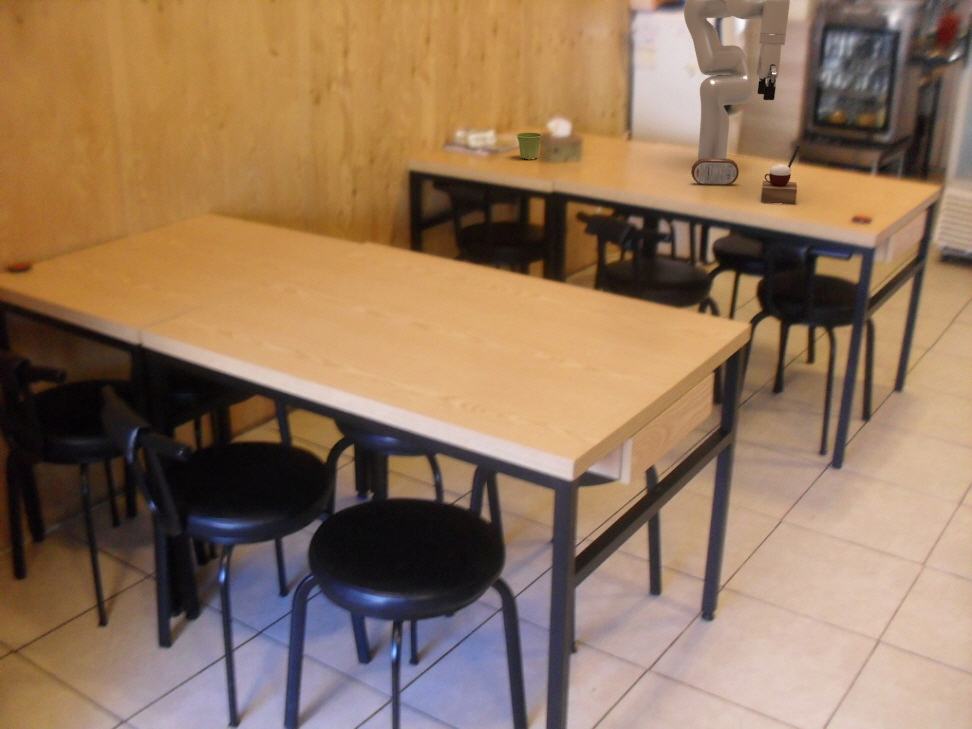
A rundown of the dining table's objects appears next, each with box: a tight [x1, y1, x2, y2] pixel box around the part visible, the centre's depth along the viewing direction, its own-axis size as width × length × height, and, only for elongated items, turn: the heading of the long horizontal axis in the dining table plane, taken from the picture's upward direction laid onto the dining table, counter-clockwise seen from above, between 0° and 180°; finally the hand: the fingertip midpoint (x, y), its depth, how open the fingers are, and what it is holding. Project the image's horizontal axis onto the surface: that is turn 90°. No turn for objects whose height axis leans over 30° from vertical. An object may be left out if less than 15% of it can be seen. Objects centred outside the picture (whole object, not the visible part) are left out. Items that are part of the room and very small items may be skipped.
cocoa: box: [764, 144, 801, 186], centre depth 313 cm, size 10×6×12 cm, turn 64°
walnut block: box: [760, 180, 798, 205], centre depth 317 cm, size 10×10×5 cm
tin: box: [690, 158, 740, 186], centre depth 335 cm, size 15×3×8 cm, turn 84°
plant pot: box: [516, 131, 543, 160], centre depth 375 cm, size 9×9×9 cm
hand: (765, 96), depth 318 cm, fingers open, 9 cm apart
